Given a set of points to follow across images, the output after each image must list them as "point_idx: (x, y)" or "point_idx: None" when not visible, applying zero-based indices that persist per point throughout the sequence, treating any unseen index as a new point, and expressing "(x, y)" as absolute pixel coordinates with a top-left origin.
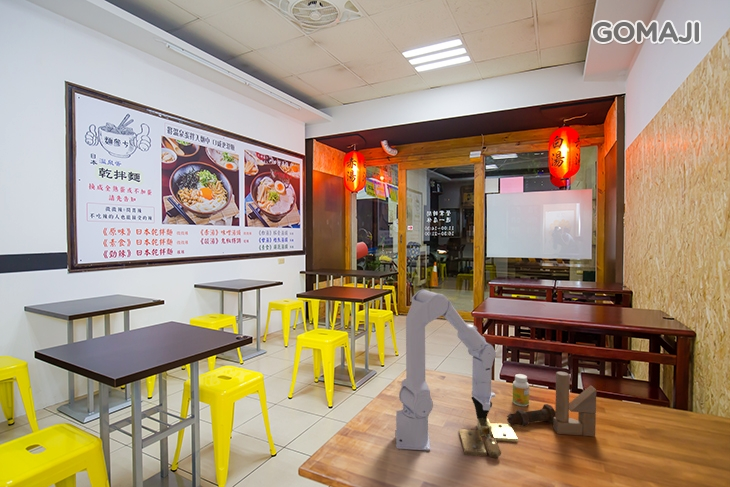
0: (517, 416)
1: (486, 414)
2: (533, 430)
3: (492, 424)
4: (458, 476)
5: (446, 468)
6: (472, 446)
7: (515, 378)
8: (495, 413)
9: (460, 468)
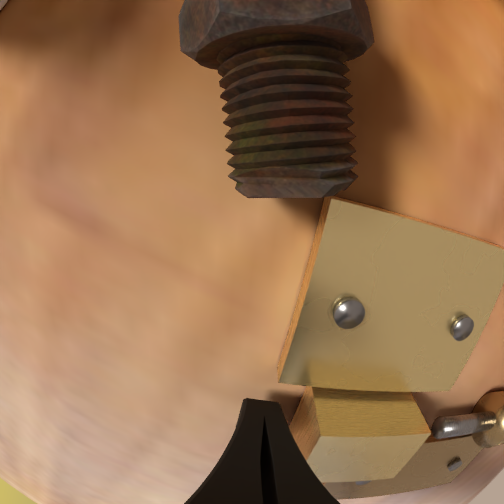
0: (328, 84)
1: (303, 463)
2: (388, 17)
3: (307, 360)
4: (493, 473)
5: (459, 494)
6: (447, 468)
7: None
8: (70, 215)
9: (479, 474)
